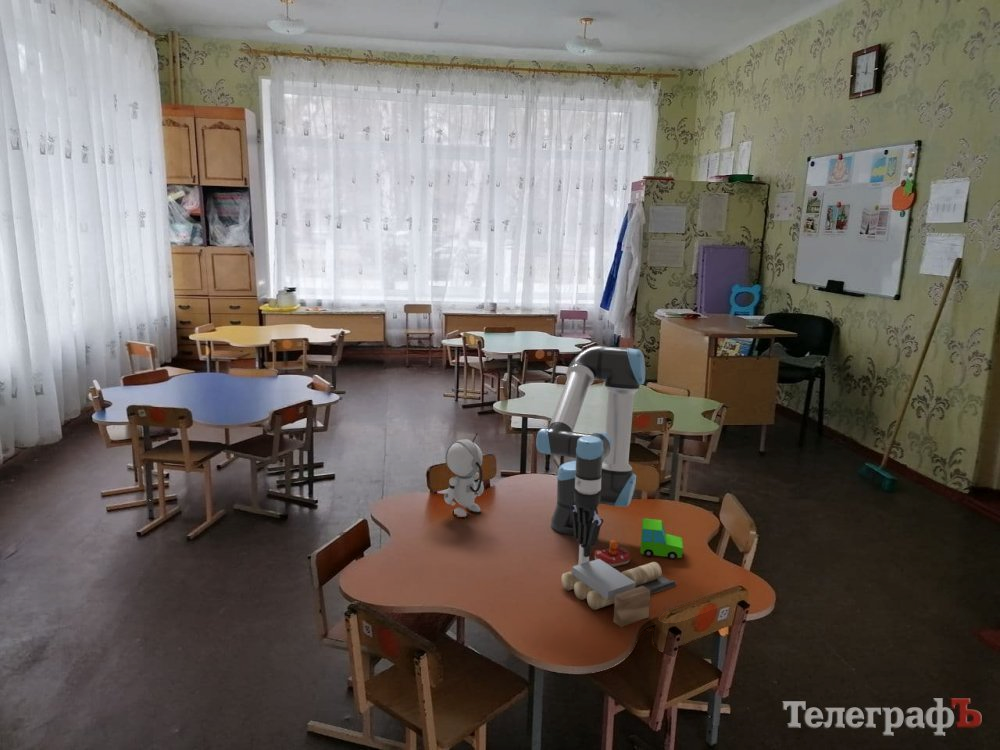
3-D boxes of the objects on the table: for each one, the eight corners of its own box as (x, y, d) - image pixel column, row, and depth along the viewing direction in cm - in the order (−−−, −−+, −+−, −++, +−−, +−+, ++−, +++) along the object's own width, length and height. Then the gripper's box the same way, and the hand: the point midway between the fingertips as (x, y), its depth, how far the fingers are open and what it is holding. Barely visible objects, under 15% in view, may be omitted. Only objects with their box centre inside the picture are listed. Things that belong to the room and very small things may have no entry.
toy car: (682, 563, 226) (685, 534, 223) (640, 558, 228) (642, 530, 226) (681, 548, 235) (683, 521, 233) (640, 544, 238) (642, 517, 236)
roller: (630, 591, 207) (632, 576, 206) (619, 583, 211) (621, 568, 210) (660, 581, 213) (662, 566, 212) (649, 573, 217) (651, 558, 216)
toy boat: (589, 560, 226) (590, 539, 224) (619, 554, 231) (621, 532, 229) (603, 571, 219) (604, 549, 218) (633, 564, 224) (635, 542, 223)
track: (561, 585, 210) (562, 561, 208) (637, 561, 226) (638, 538, 224) (617, 628, 189) (619, 601, 187) (697, 598, 204) (699, 573, 203)
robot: (482, 506, 267) (484, 430, 262) (481, 519, 254) (482, 440, 249) (447, 505, 267) (447, 429, 262) (443, 518, 254) (443, 439, 249)
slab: (572, 574, 207) (572, 566, 206) (598, 566, 212) (599, 558, 211) (607, 599, 193) (608, 591, 193) (635, 590, 198) (635, 582, 198)
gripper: (563, 484, 208) (560, 558, 213) (591, 500, 197) (587, 577, 202) (584, 480, 212) (580, 553, 217) (612, 495, 201) (607, 571, 206)
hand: (583, 564), depth 209 cm, fingers closed
